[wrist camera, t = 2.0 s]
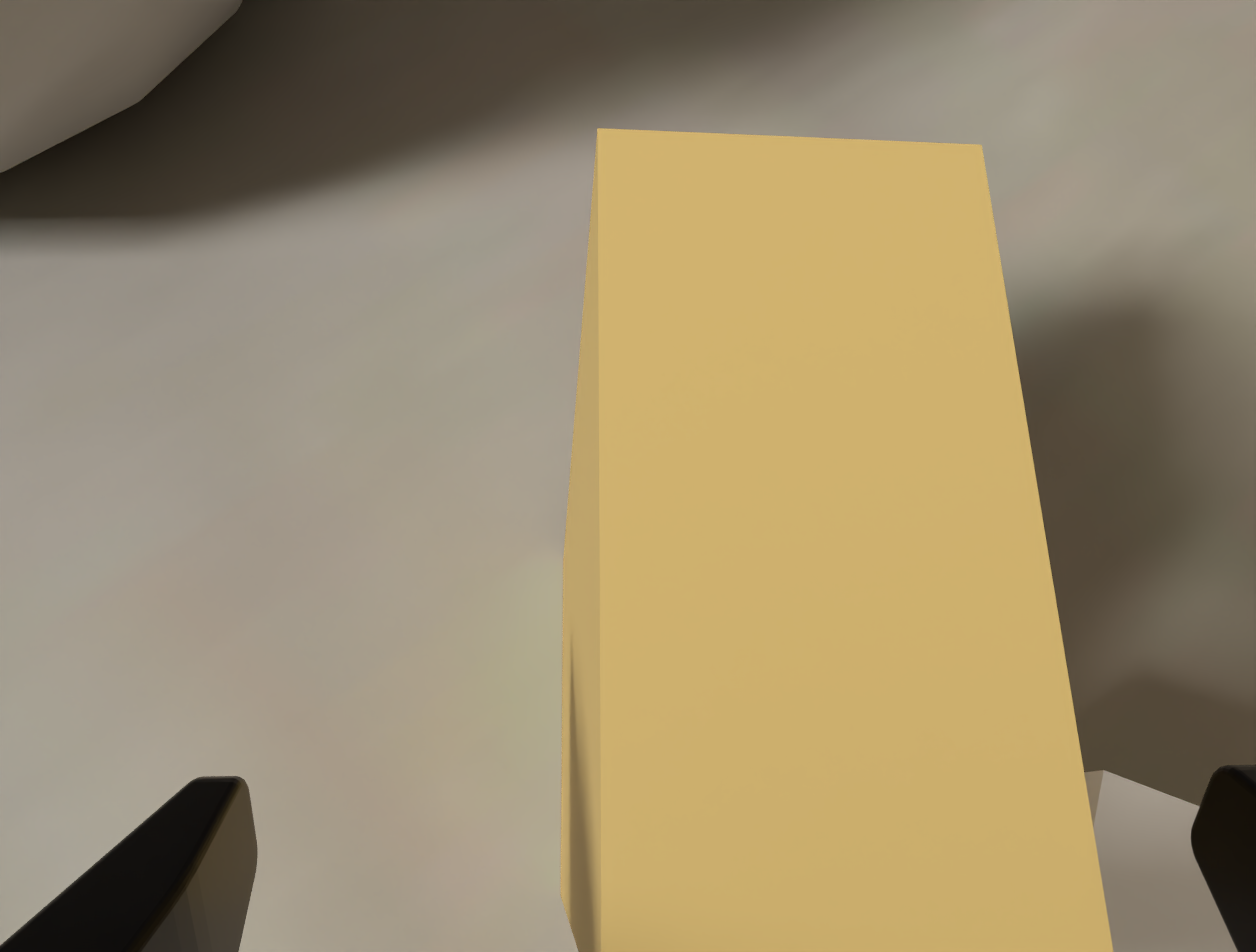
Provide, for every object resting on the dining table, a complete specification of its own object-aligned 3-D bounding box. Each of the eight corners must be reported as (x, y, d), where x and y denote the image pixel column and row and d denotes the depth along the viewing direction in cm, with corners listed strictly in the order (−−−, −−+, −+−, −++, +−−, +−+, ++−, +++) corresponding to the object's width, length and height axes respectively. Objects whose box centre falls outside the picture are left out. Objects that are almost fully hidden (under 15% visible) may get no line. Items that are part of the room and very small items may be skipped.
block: (731, 892, 17) (1121, 1007, 6) (560, 895, 17) (602, 1023, 5) (716, 560, 19) (981, 144, 8) (563, 559, 19) (597, 127, 8)
